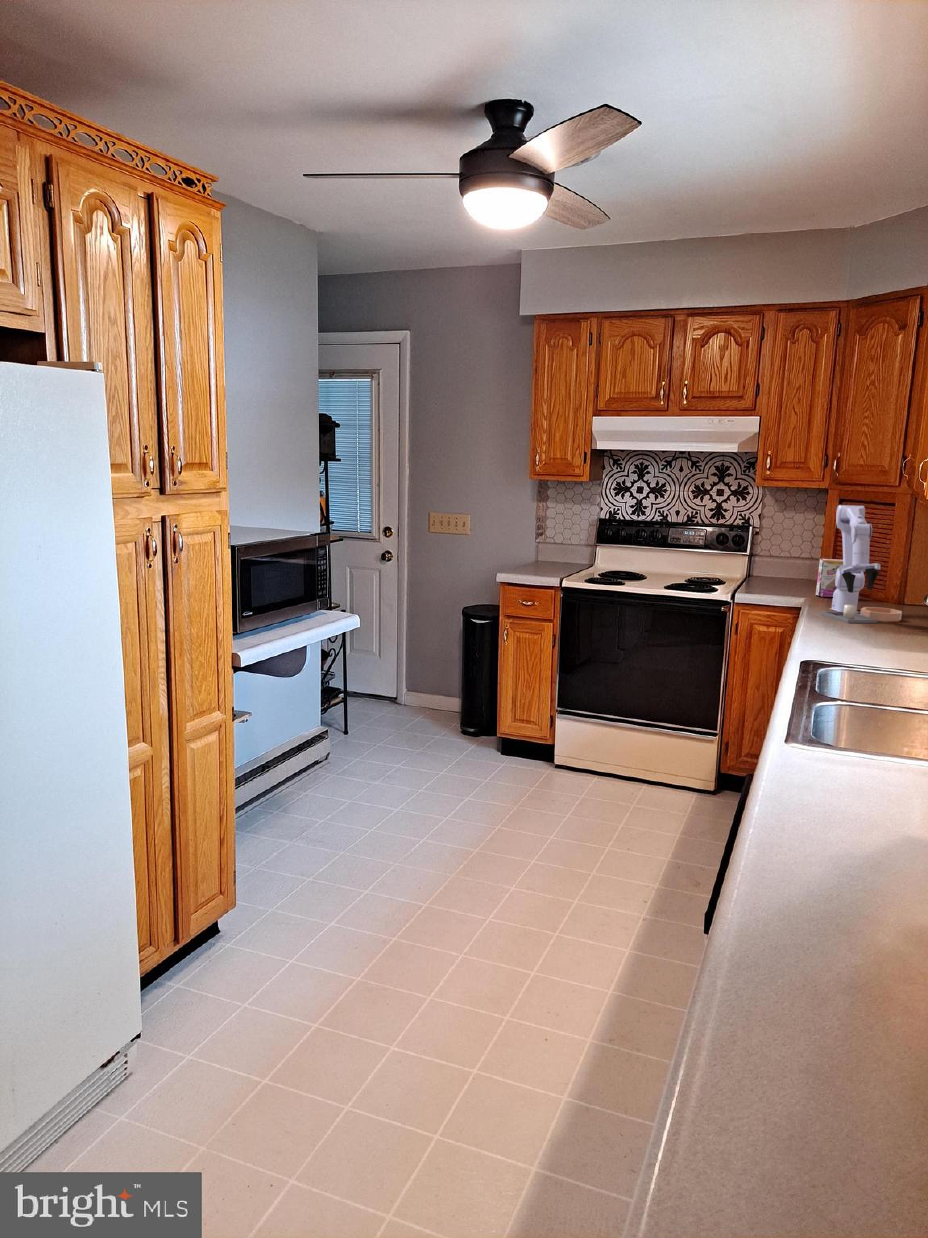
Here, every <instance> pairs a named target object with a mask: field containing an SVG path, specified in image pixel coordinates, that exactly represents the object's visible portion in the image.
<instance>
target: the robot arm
mask: <svg viewBox="0 0 928 1238" xmlns="http://www.w3.org/2000/svg"><path fill="white" fill-rule="evenodd" d="M865 515H866V508H865V506H864V505H847V504H846V505H844V504H843V505H842V504H839V505H837V508H836V514H835V516H836V517H835V520H836V521H835V523H836V528H837V529H839V531H841V532H840V533H841V537H842V540H841V541H842V560H843V566H841V567H839V568H838V570H837V572H836V579H835V585H836V587H837V588H838V589H836V590H835V591H834V593H833V598H832V602H831V608H829V610H833V611H835V612H844V605H855V606H856V611H855V613H857V614H860V612H861V611H858V603H859V595H860V591H861V590H862V589H864V587H865V578H866V589H867V590H868V591H872V590H873V589H874V584H875V582H876V581H877V577H878V576H879V575H880V571H879V570H881V564H880V563H877V562H876V563H870V541H871V538H872V534H873V526H872V523H868V522H867V520H866V518H865V517H866V516H865ZM864 572H865V573H864ZM865 575H866V577H865Z"/></svg>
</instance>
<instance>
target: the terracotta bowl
mask: <svg viewBox="0 0 928 1238" xmlns="http://www.w3.org/2000/svg"><path fill="white" fill-rule="evenodd" d="M859 612H860V613H859V614H860V615H864V616H867V617H871V618H874V619H877V622H878V621H879V622H900V621H901V620H902V615H903V611H902V610H897V609H895V608H889V607H879V606H864V607H862V608H860V611H859Z"/></svg>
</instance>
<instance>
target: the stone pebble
mask: <svg viewBox="0 0 928 1238" xmlns="http://www.w3.org/2000/svg"><path fill="white" fill-rule="evenodd" d="M855 611H856V606H855V605H844V613H843V618H845V619H855Z"/></svg>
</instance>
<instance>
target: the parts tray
mask: <svg viewBox="0 0 928 1238" xmlns="http://www.w3.org/2000/svg"><path fill="white" fill-rule="evenodd" d="M843 613H844V612H839V611H821V616H824V617H827V618H830V619H833V620H835V621H838V622H842V623H845V624H878V621H877V619H874V618H871V617H867V616H864V615H860V613H855V619H845V618H843Z"/></svg>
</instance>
